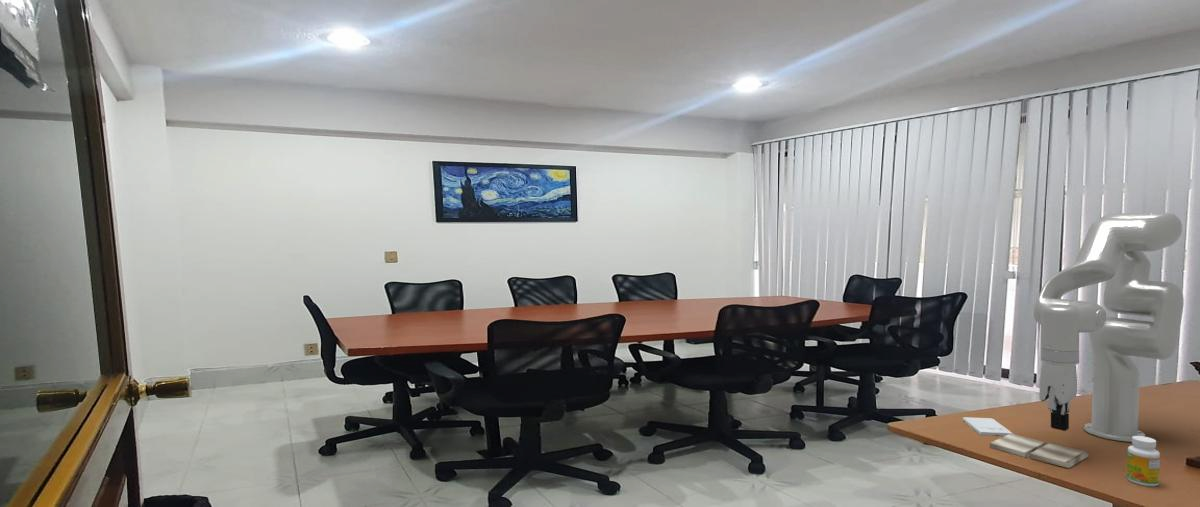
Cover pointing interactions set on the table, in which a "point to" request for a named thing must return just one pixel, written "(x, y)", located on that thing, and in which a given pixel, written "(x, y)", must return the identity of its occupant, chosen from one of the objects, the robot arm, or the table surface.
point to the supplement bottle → (1143, 461)
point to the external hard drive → (986, 426)
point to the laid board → (1017, 445)
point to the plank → (1059, 455)
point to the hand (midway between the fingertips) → (1059, 428)
